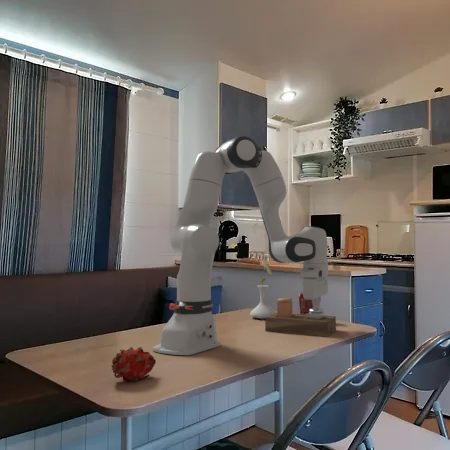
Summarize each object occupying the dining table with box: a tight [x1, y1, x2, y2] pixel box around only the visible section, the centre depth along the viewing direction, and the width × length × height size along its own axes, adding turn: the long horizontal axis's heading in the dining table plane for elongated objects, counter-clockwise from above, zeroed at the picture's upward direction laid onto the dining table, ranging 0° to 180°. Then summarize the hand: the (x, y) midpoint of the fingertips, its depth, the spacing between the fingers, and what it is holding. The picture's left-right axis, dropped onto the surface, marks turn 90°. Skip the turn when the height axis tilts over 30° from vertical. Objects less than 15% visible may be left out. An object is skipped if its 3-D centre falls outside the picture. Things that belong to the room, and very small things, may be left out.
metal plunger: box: [309, 308, 325, 320], centre depth 161 cm, size 5×5×7 cm
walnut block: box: [264, 312, 337, 337], centre depth 164 cm, size 12×23×5 cm, turn 63°
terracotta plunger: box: [276, 297, 294, 318], centre depth 167 cm, size 5×5×7 cm
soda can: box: [297, 291, 313, 315], centre depth 181 cm, size 7×7×12 cm
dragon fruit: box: [111, 346, 157, 382], centre depth 108 cm, size 8×8×12 cm
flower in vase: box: [249, 259, 277, 320], centre depth 193 cm, size 13×11×25 cm
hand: (316, 309), depth 161 cm, fingers closed, pressing on metal plunger
